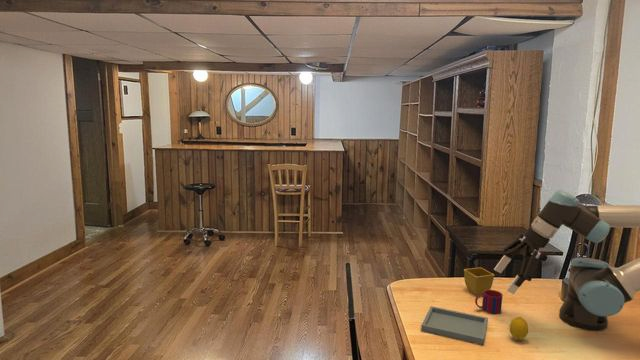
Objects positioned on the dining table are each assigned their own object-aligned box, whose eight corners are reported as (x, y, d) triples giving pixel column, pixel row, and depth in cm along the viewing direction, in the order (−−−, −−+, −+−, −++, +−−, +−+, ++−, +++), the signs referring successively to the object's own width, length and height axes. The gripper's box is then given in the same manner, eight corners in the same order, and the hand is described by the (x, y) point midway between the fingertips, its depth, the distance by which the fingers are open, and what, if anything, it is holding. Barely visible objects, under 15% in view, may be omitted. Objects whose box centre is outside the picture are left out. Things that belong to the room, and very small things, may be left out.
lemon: (511, 333, 153) (513, 311, 151) (528, 339, 149) (531, 316, 148) (506, 340, 148) (508, 317, 147) (524, 346, 145) (526, 323, 144)
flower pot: (461, 289, 188) (463, 268, 186) (479, 287, 190) (481, 267, 189) (474, 298, 180) (476, 276, 178) (493, 295, 182) (495, 274, 181)
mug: (503, 314, 166) (505, 297, 165) (477, 314, 166) (478, 297, 165) (496, 306, 173) (498, 289, 172) (470, 306, 173) (472, 289, 171)
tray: (487, 323, 159) (487, 317, 159) (483, 345, 145) (483, 339, 144) (430, 311, 167) (430, 306, 167) (421, 331, 153) (421, 325, 153)
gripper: (517, 213, 162) (484, 259, 168) (546, 244, 138) (505, 296, 145) (535, 222, 162) (501, 267, 169) (566, 254, 139) (525, 306, 145)
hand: (503, 281), depth 157 cm, fingers open, 13 cm apart
